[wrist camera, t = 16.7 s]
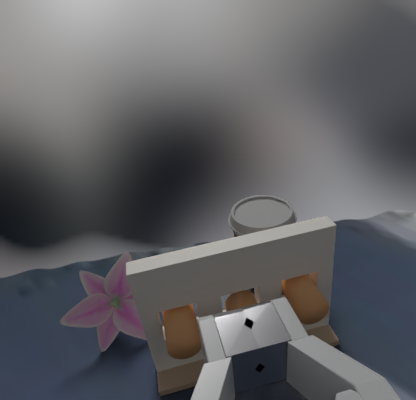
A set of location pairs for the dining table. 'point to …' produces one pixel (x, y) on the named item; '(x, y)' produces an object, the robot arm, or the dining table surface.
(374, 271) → the dining table surface
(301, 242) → the panel
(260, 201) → the disposable coffee cup
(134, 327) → the lily
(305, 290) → the button right
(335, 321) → the dining table surface
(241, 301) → the button middle
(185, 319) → the button left
